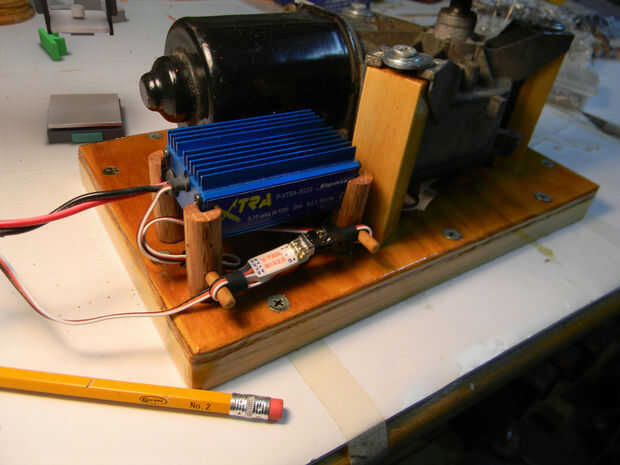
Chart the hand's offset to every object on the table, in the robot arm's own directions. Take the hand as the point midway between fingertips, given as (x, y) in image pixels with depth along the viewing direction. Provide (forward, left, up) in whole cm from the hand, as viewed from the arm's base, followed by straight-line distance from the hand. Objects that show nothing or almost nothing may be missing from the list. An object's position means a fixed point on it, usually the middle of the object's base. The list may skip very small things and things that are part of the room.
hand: (81, 32), depth 90 cm
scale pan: (-1, -8, -12) cm, 15 cm away
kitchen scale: (-1, -8, -15) cm, 18 cm away
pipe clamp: (-8, +30, -16) cm, 35 cm away
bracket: (0, +55, -16) cm, 57 cm away
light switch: (0, 0, 0) cm, 0 cm away
